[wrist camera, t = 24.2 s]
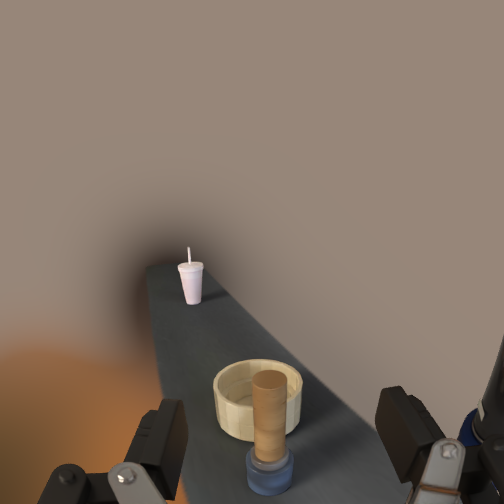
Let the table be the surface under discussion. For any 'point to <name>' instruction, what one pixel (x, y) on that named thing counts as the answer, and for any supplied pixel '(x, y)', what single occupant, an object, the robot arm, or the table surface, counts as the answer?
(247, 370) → the bowl
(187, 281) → the smoothie
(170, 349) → the table surface
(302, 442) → the table surface
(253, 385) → the brush
